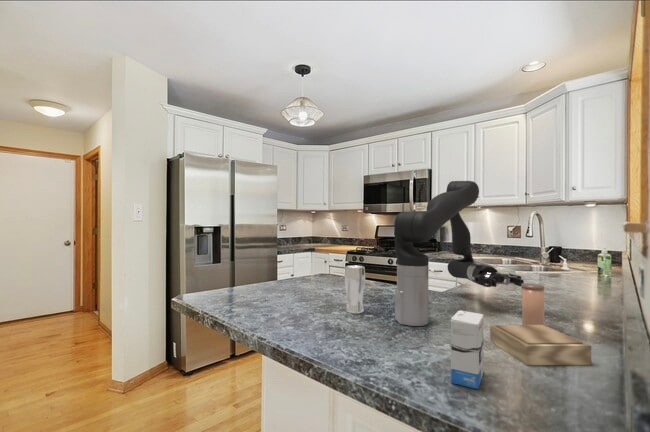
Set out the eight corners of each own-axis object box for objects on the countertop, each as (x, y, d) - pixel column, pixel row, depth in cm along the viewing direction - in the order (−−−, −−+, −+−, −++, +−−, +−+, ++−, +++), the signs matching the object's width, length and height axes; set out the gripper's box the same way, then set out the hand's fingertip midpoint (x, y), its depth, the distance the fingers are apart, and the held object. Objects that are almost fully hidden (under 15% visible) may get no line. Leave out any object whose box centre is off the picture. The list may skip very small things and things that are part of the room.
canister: (530, 334, 86) (529, 287, 86) (517, 328, 92) (517, 283, 92) (549, 334, 86) (549, 287, 87) (535, 328, 92) (535, 283, 92)
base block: (526, 365, 67) (526, 344, 68) (490, 340, 81) (490, 323, 82) (591, 364, 68) (591, 344, 68) (544, 340, 82) (543, 323, 82)
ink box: (479, 390, 57) (479, 324, 57) (449, 383, 60) (449, 319, 60) (484, 372, 64) (484, 312, 65) (458, 366, 67) (457, 309, 67)
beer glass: (341, 312, 106) (341, 267, 107) (348, 307, 113) (348, 264, 113) (361, 314, 104) (362, 268, 104) (367, 309, 110) (367, 265, 111)
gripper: (462, 264, 117) (486, 271, 100) (501, 263, 117) (531, 271, 101) (462, 285, 116) (486, 295, 100) (501, 284, 117) (531, 295, 101)
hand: (509, 283), depth 101 cm, fingers open, 8 cm apart
